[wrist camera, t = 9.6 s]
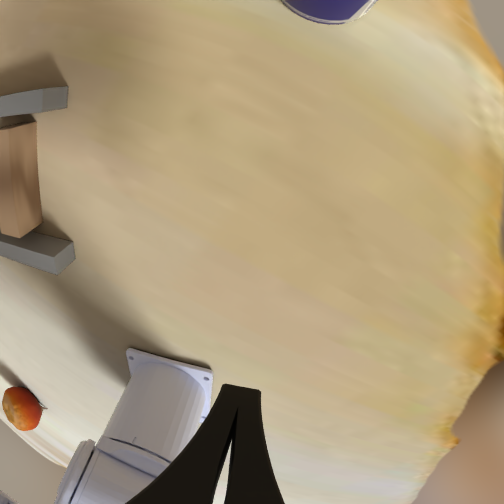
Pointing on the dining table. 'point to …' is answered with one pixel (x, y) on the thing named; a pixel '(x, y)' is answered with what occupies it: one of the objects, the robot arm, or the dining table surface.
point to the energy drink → (330, 10)
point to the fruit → (22, 408)
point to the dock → (31, 244)
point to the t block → (19, 180)
